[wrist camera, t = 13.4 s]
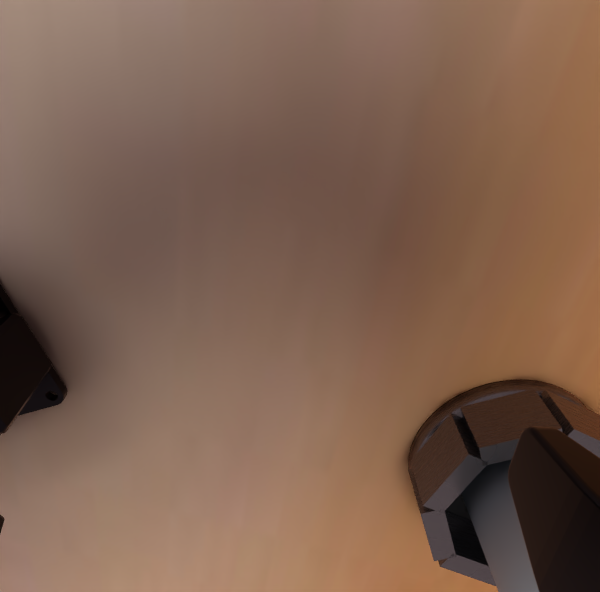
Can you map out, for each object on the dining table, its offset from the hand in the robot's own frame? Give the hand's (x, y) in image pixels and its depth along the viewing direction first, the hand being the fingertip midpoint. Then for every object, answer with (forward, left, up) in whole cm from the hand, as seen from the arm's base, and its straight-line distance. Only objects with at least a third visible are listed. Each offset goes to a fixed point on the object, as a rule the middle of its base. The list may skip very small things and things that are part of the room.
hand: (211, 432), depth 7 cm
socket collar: (+7, -16, -13) cm, 22 cm away
